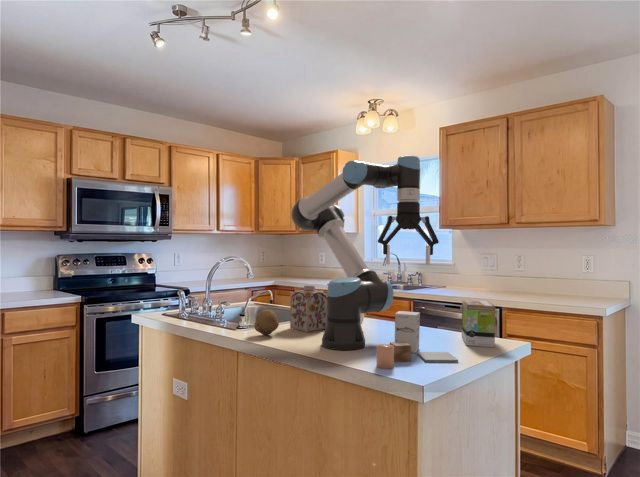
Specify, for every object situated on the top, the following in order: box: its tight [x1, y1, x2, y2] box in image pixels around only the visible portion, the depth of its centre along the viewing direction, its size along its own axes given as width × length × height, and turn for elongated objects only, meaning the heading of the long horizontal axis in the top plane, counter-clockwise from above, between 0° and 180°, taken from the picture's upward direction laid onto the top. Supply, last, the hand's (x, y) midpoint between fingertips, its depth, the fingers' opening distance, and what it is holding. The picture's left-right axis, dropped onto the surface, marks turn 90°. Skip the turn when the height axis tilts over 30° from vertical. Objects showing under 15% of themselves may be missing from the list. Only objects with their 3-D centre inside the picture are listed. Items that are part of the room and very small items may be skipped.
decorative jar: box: [289, 285, 327, 333], centre depth 187 cm, size 12×12×18 cm
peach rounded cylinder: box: [376, 343, 395, 370], centre depth 129 cm, size 5×5×6 cm
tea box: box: [461, 299, 496, 348], centre depth 164 cm, size 15×10×15 cm, turn 168°
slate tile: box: [416, 351, 459, 364], centre depth 139 cm, size 10×10×1 cm
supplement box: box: [394, 310, 421, 354], centre depth 150 cm, size 7×7×13 cm
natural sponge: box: [254, 309, 280, 336], centre depth 171 cm, size 9×9×10 cm
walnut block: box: [389, 341, 412, 363], centre depth 137 cm, size 5×5×5 cm
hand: (407, 264), depth 151 cm, fingers open, 13 cm apart
